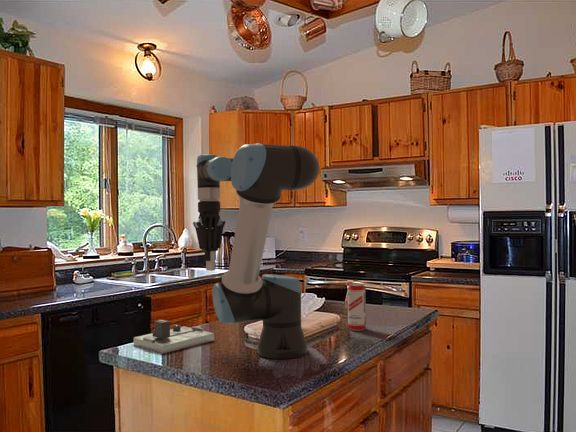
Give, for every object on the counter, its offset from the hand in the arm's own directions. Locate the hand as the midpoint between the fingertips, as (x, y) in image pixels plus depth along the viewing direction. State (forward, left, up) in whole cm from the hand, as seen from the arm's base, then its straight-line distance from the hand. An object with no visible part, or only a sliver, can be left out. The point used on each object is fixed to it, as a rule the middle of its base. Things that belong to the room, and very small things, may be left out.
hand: (210, 270), depth 177 cm
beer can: (-32, -39, -23) cm, 56 cm away
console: (+4, +13, -23) cm, 26 cm away
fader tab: (+4, +17, -20) cm, 27 cm away
